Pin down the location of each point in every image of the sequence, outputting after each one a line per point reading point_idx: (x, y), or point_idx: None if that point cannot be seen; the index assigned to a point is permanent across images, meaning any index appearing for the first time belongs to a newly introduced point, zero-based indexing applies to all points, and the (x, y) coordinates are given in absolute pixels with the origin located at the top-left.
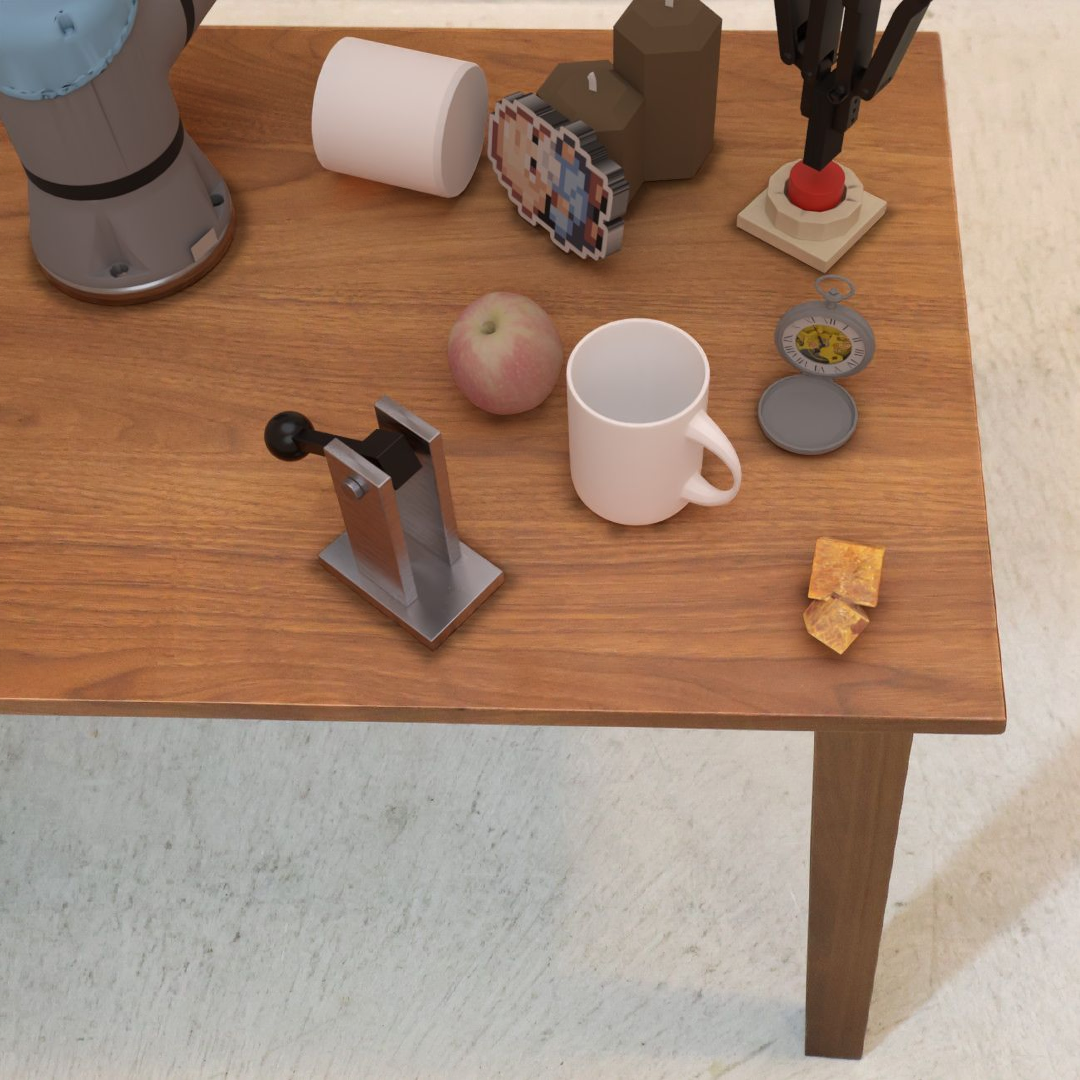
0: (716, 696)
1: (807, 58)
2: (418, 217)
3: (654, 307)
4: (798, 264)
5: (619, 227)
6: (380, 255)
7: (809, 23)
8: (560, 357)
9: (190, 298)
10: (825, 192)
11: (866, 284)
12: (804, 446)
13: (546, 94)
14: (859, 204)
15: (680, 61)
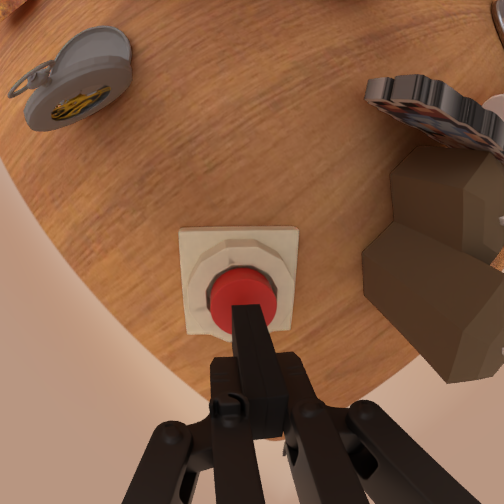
0: None
1: (328, 436)
2: (475, 98)
3: (295, 82)
4: (210, 221)
5: (382, 92)
6: (468, 57)
7: (362, 502)
8: None
9: (486, 9)
10: (218, 293)
11: (141, 242)
12: (79, 47)
13: None
14: (189, 309)
15: (470, 304)
